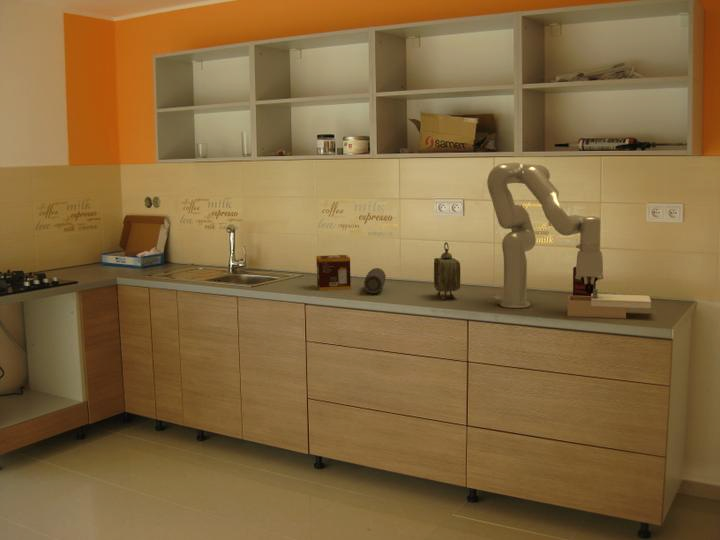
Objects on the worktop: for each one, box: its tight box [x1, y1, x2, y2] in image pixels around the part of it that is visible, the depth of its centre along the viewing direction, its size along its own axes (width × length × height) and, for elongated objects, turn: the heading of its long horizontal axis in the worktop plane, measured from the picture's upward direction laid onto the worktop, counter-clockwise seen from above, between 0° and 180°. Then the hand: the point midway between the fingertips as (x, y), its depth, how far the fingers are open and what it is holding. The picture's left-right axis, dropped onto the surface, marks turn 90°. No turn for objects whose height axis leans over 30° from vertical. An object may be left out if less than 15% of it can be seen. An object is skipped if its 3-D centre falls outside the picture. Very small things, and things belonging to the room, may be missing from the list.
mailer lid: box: [591, 288, 652, 309], centre depth 313 cm, size 22×13×5 cm, turn 74°
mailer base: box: [566, 295, 627, 319], centre depth 316 cm, size 22×11×6 cm, turn 74°
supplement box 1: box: [315, 254, 352, 292], centre depth 384 cm, size 10×15×16 cm
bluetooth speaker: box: [363, 267, 387, 294], centre depth 375 cm, size 23×9×10 cm, turn 174°
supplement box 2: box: [572, 266, 597, 296], centre depth 336 cm, size 9×5×16 cm, turn 56°
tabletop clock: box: [433, 241, 461, 301], centre depth 354 cm, size 14×9×25 cm, turn 7°
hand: (588, 293), depth 316 cm, fingers closed
